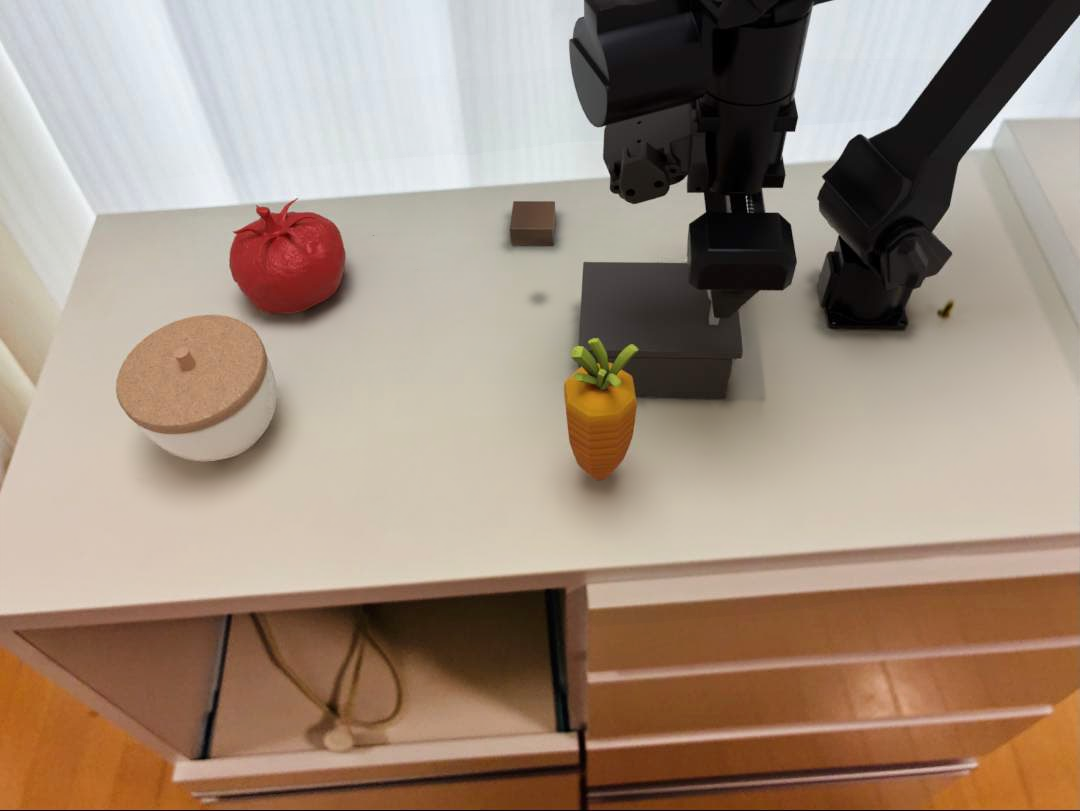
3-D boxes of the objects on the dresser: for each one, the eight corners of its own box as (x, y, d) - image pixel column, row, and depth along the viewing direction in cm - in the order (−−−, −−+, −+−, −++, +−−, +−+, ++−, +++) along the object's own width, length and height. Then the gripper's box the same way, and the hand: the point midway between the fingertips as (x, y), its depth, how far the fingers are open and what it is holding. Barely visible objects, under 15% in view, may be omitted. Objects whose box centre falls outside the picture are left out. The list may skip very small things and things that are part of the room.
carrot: (639, 458, 63) (651, 323, 51) (622, 513, 60) (629, 384, 48) (577, 443, 64) (573, 307, 52) (557, 496, 61) (548, 365, 49)
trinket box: (294, 367, 70) (258, 288, 62) (293, 472, 63) (253, 397, 56) (166, 388, 69) (115, 310, 62) (152, 496, 63) (92, 424, 55)
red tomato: (359, 314, 73) (333, 233, 66) (246, 337, 72) (207, 258, 65) (348, 242, 79) (323, 160, 72) (244, 263, 78) (207, 182, 71)
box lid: (732, 270, 67) (741, 222, 63) (741, 359, 62) (751, 313, 58) (583, 268, 68) (582, 221, 64) (578, 356, 63) (577, 310, 59)
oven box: (718, 311, 71) (725, 270, 67) (725, 399, 66) (733, 359, 62) (584, 309, 72) (583, 269, 68) (579, 395, 67) (578, 357, 63)
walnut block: (555, 217, 80) (555, 200, 78) (553, 245, 77) (552, 229, 76) (514, 217, 80) (513, 200, 79) (511, 245, 78) (509, 228, 76)
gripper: (614, 2, 55) (612, 190, 68) (607, 178, 44) (606, 365, 56) (784, -2, 54) (750, 190, 67) (821, 177, 43) (772, 368, 55)
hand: (717, 271), depth 61 cm, fingers open, 9 cm apart
